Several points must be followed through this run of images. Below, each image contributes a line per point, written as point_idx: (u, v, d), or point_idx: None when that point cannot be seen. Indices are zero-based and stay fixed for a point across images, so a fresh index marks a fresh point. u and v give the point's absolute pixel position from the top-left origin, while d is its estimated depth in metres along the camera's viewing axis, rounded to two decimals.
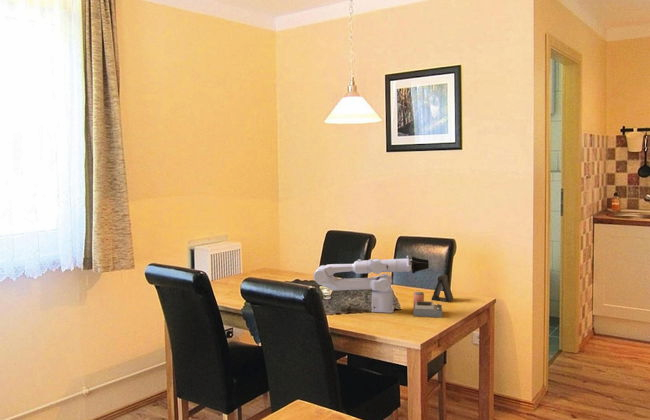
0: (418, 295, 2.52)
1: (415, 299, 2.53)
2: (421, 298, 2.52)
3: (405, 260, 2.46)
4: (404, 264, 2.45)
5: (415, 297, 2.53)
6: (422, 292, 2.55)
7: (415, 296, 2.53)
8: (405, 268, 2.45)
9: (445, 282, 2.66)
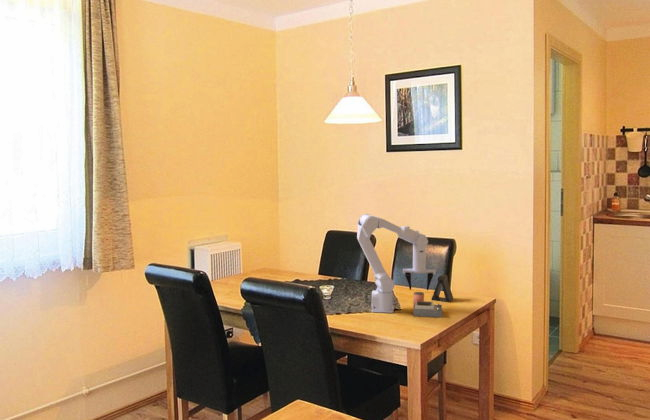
0: (418, 295, 2.52)
1: (415, 299, 2.53)
2: (421, 298, 2.52)
3: None
4: None
5: (415, 297, 2.53)
6: (422, 292, 2.55)
7: (415, 296, 2.53)
8: (425, 268, 2.51)
9: (445, 282, 2.66)
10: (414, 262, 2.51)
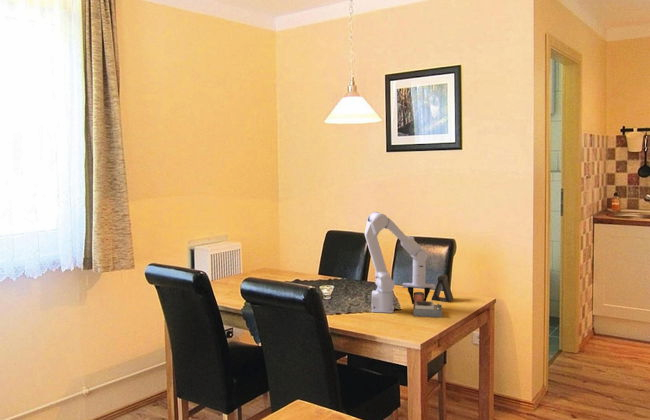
0: (418, 295, 2.52)
1: (415, 299, 2.53)
2: (421, 298, 2.52)
3: None
4: None
5: (415, 297, 2.53)
6: (422, 292, 2.55)
7: (415, 296, 2.53)
8: (424, 283, 2.52)
9: (445, 282, 2.66)
10: (414, 277, 2.52)
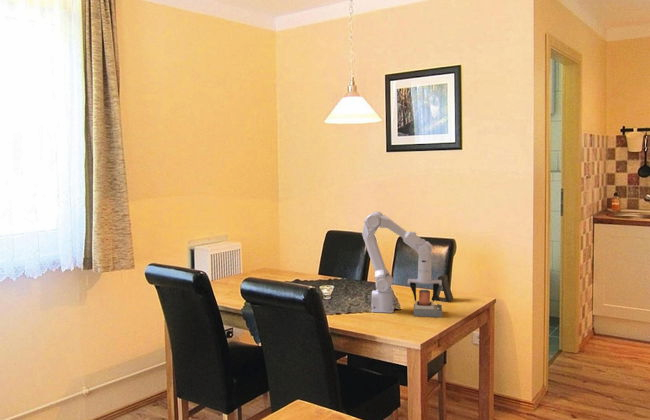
0: (424, 293, 2.43)
1: (421, 297, 2.44)
2: (427, 296, 2.43)
3: None
4: None
5: (421, 295, 2.44)
6: (428, 290, 2.46)
7: (421, 294, 2.44)
8: (430, 278, 2.43)
9: (445, 282, 2.66)
10: (419, 272, 2.42)
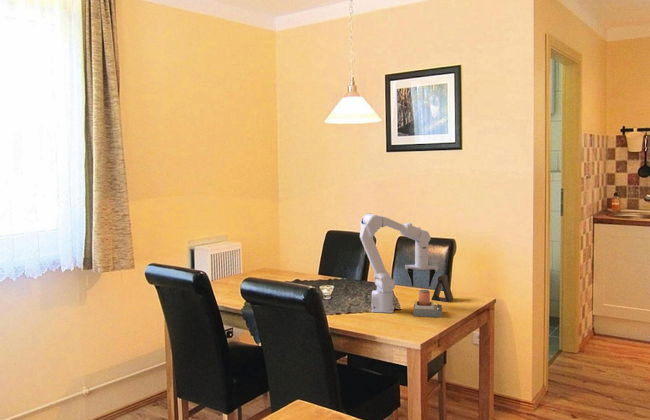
0: (424, 293, 2.43)
1: (421, 297, 2.44)
2: (427, 296, 2.43)
3: None
4: None
5: (421, 295, 2.44)
6: (428, 290, 2.46)
7: (421, 294, 2.44)
8: (427, 264, 2.53)
9: (445, 282, 2.66)
10: (416, 258, 2.52)
